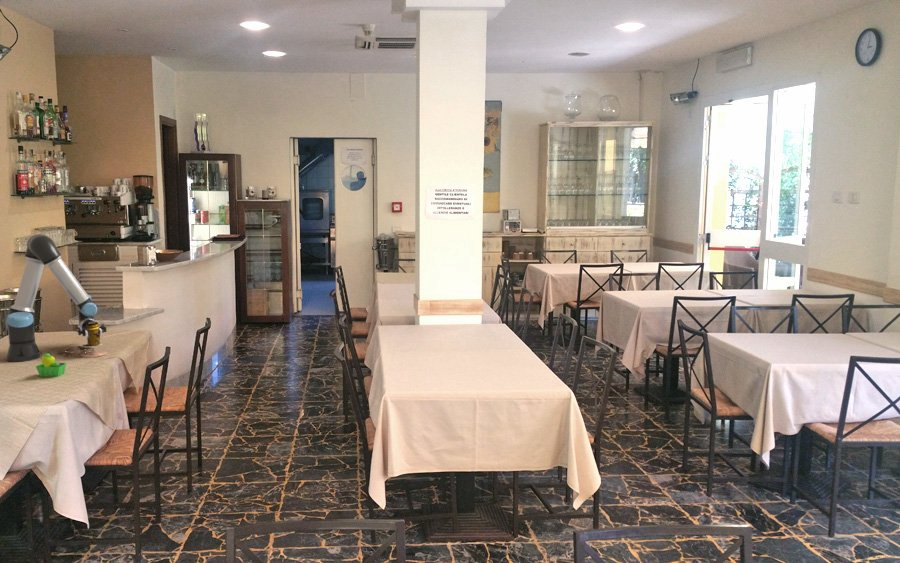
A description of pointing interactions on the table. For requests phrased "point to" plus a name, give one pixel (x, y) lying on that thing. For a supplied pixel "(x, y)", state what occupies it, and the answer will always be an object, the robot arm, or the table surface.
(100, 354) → the serving plate
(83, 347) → the dark brown openwork trivet
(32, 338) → the robot arm
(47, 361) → the fruit basket
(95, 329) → the condiment
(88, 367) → the table surface
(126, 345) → the table surface
